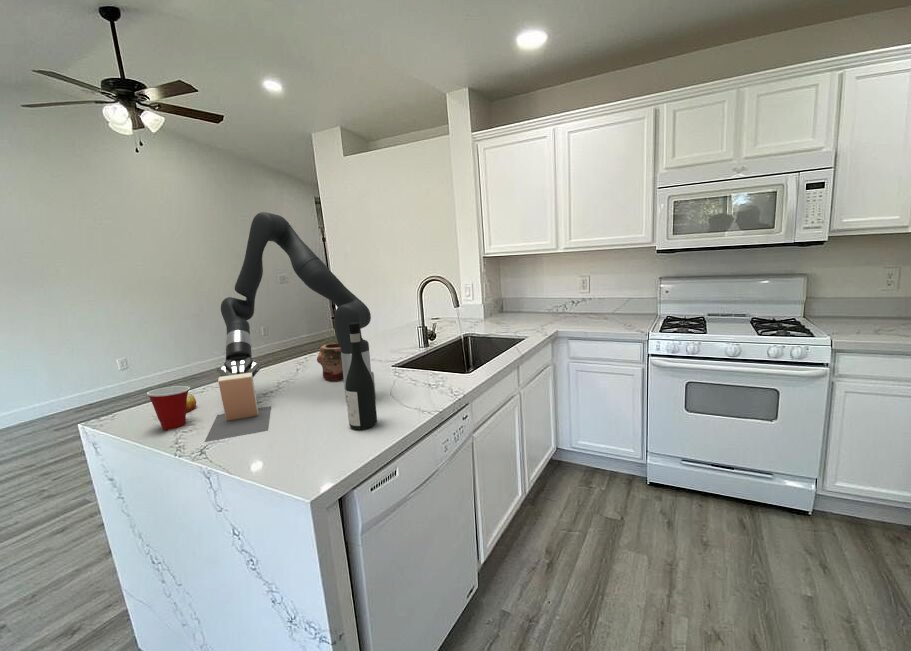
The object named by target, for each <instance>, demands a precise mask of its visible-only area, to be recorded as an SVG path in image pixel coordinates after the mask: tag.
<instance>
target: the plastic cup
mask: <svg viewBox="0 0 911 651" xmlns="http://www.w3.org/2000/svg"><path fill="white" fill-rule="evenodd" d="M190 390H191V386H188V385H187V386H186V385H175V386H167V387H159V388H156V389H152V390H150V391H147V393H146V395H147V396H148V398H149V400H150V402H151V404H152V407H153V409H154V411H155V414H156V417H157V419H158V421H159V423H160V426H161V428H162V429H163V431H167V432H168V431H169V430H173V429H177V428H180V427H183V426H184V425H185V424H186V423H187V421H186V420H187V418H186V416H187V413H186V406H187V395H188V393H189V391H190Z"/></svg>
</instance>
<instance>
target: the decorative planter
mask: <svg viewBox="0 0 911 651" xmlns="http://www.w3.org/2000/svg"><path fill="white" fill-rule="evenodd" d="M317 354H318V355H317V358H316V361H317V363H318V364H319V365H321V367H322V376H323V379H324V381H327V382H334V383H335V382H340V381H344V378H343V368H342V357H341V349H340V346H339V344H338V342H337V343H336V342H335V343H328V344H324V345H322V346H320V348H319V351H318V353H317Z"/></svg>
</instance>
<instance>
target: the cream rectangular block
mask: <svg viewBox="0 0 911 651" xmlns="http://www.w3.org/2000/svg"><path fill="white" fill-rule="evenodd" d="M254 381H255V380H254V377H253V375H252V373H248V372H247V373H245V374H237V375H233V374H230V375H229V376H222V377H221V376H219V377H218V381H217V382H218V387H219V392H220V396H221V397H220V398H221V402H222V406H223V411H224V414H225V417H226V421H228V420H234V419H240V418H246V417H252V416H258V412H259V411H258V408H259V405H258V401H257V400H258V399H257V394H256V389H255V383H254Z"/></svg>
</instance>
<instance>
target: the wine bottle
mask: <svg viewBox="0 0 911 651" xmlns="http://www.w3.org/2000/svg"><path fill="white" fill-rule="evenodd" d="M348 327H349V331H350V340H351V350H352V359H351V364H350V368H349V371H348V374H347V378H346V387H345V388H344V391H345V390H346V397H345V401H346V400H347V403H346V407H347V418H348V425H349V427H350V428H352V429H354V430H360V431H361V430H366V429H367V430H368V429H371V428H372V427H374V426H375V425H377V424H376V423H377V422H378V417H377V416H378V414H377V404H376V399H375V394H376V389H375V390H374V383H375V382H374V383H373V380H372V377H371V374H370V372H369V370H368V368H367V367H366V365H365V362H364V360H363V357H362V353H361V343H360V331H359V330H360V324H359V323H358V322H354V323H349V324H348Z"/></svg>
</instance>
